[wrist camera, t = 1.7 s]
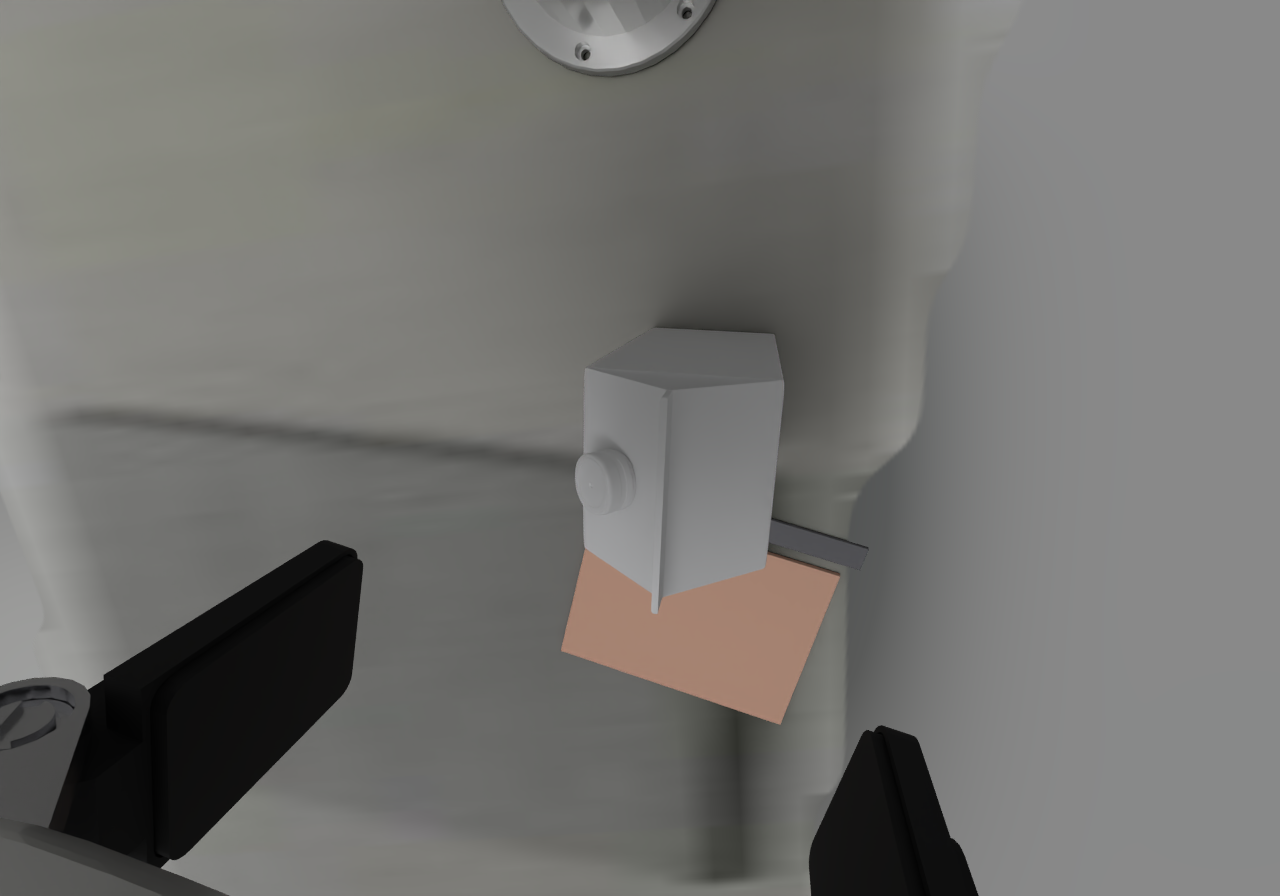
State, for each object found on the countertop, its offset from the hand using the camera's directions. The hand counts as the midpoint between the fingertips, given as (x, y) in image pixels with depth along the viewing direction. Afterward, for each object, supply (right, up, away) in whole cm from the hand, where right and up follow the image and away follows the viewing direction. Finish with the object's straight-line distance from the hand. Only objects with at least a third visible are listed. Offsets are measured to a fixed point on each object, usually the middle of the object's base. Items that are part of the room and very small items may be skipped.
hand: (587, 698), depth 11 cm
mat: (+4, -7, +30) cm, 31 cm away
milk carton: (+5, +8, +26) cm, 27 cm away
